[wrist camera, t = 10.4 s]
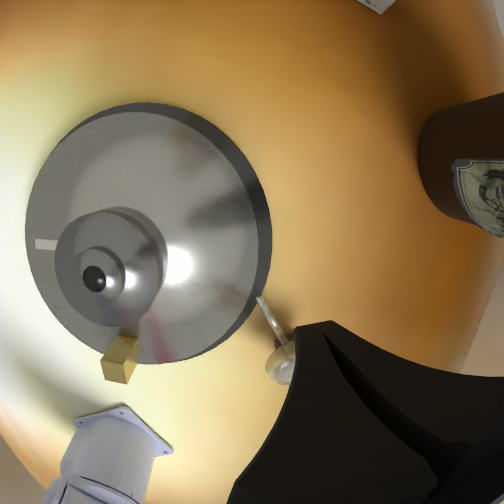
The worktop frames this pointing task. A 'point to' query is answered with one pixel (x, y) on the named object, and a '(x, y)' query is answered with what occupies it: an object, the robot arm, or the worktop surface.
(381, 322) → the worktop surface
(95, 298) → the cover
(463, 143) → the olive oil
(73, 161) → the turntable
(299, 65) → the worktop surface
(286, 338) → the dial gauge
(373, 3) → the supplement box
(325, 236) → the worktop surface
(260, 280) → the turntable base
